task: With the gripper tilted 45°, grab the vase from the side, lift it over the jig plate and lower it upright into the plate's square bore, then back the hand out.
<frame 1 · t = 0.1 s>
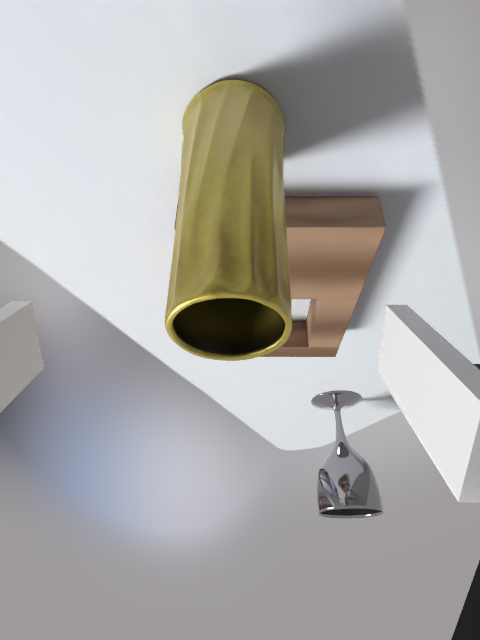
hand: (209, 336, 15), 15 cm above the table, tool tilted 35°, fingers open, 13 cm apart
wine glass: (335, 399, 60), on the table
vase: (233, 128, 25), on the table
jig: (270, 278, 36), on the table
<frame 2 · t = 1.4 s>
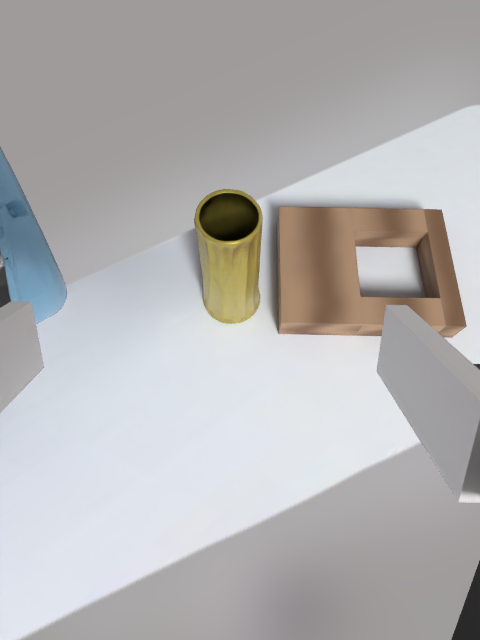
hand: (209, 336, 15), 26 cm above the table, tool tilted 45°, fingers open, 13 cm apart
vase: (231, 299, 45), on the table
jig: (358, 276, 46), on the table
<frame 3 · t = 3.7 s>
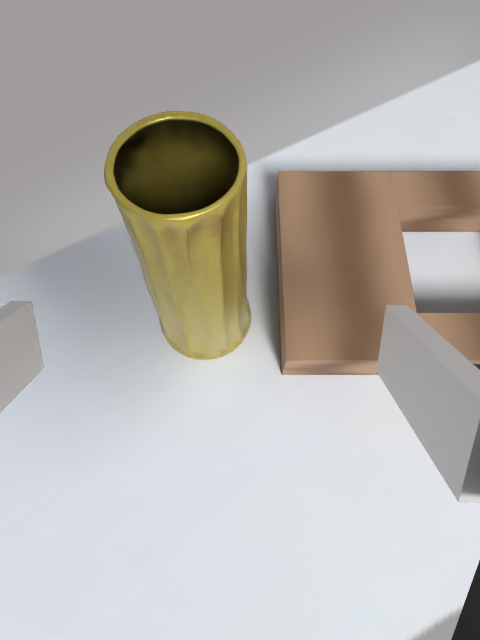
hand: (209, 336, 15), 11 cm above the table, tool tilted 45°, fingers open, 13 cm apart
vase: (206, 318, 28), on the table
jig: (404, 278, 29), on the table
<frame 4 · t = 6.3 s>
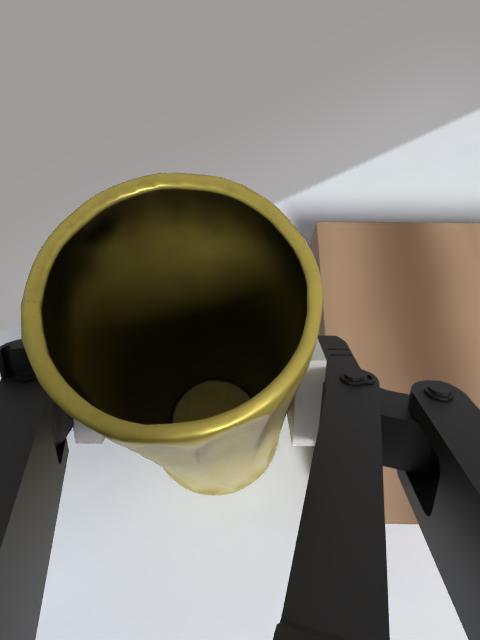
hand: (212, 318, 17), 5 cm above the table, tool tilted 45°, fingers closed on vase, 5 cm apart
vase: (216, 427, 20), on the table, touching gripper
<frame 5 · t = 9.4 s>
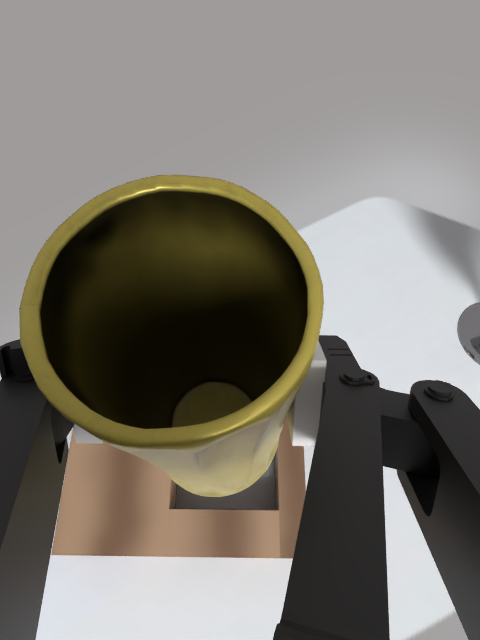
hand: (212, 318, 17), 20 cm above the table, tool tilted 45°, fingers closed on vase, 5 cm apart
vase: (216, 429, 20), point 15 cm above the table, touching gripper
jig: (190, 455, 34), on the table
when the fingers open (6 cm above the table, at t = 12.9 s): vase drops 1 cm, resting in jig.
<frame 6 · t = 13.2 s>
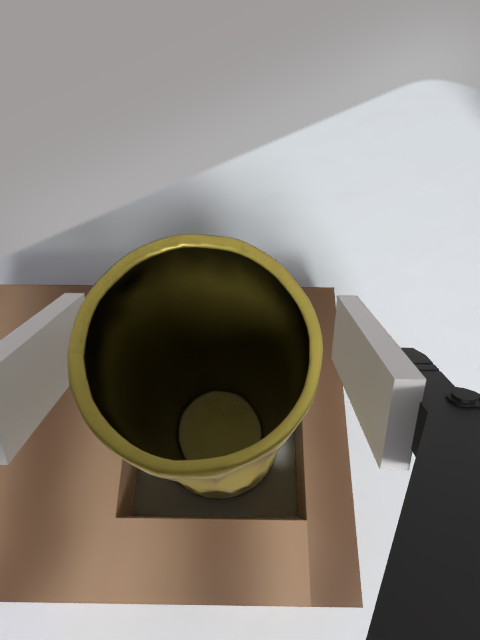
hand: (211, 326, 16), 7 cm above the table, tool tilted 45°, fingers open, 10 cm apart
vase: (220, 435, 22), resting in jig
jig: (160, 431, 22), on the table
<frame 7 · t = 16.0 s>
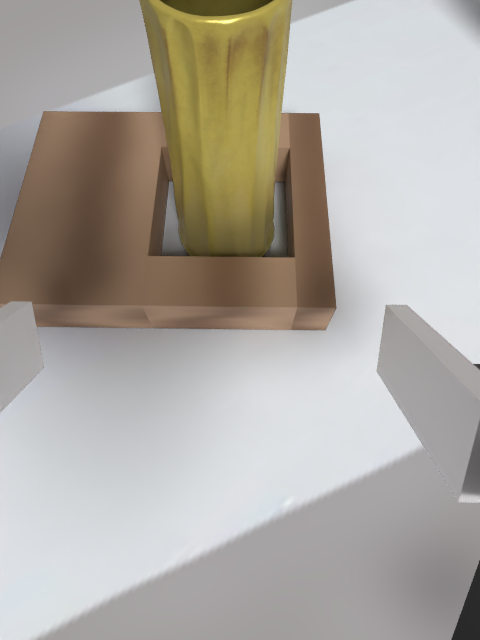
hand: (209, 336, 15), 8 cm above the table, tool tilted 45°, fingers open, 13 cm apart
vase: (227, 233, 27), resting in jig
jig: (179, 228, 27), on the table
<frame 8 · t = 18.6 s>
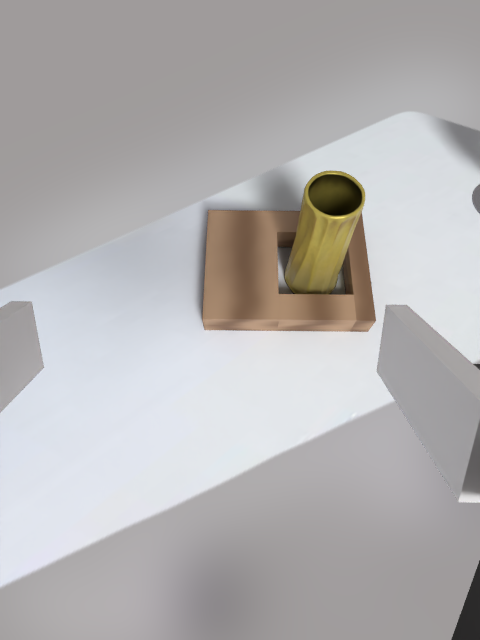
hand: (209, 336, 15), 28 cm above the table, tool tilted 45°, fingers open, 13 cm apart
vase: (310, 277, 48), resting in jig
jig: (284, 275, 48), on the table
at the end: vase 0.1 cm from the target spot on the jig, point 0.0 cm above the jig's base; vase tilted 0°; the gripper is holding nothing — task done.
